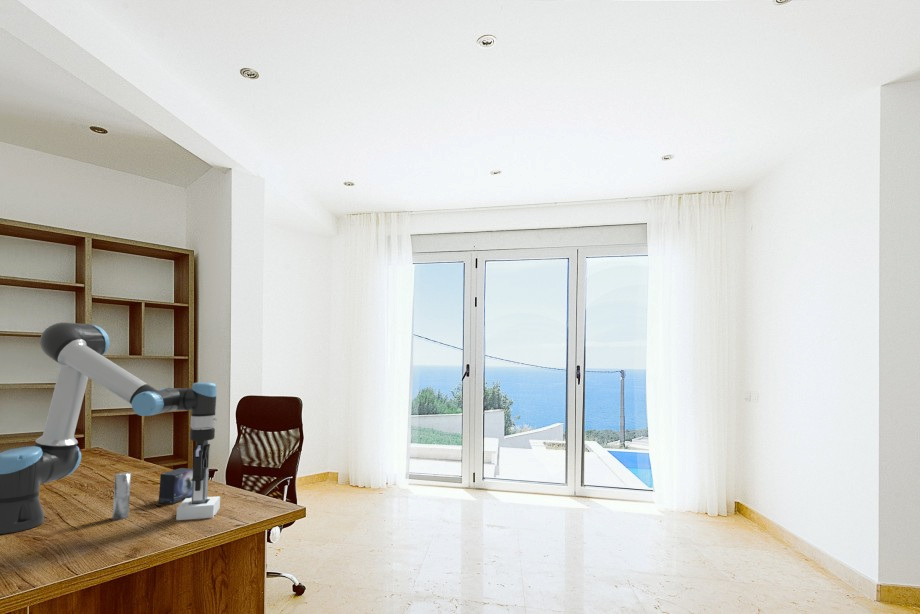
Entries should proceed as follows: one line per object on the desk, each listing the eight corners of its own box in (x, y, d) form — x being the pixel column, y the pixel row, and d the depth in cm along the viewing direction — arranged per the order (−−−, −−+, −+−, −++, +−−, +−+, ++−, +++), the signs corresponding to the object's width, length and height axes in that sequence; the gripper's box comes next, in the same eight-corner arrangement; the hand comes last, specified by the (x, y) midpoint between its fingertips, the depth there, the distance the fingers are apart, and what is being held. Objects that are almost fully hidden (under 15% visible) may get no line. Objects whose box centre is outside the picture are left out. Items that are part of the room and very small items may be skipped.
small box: (173, 504, 184) (174, 474, 185) (157, 503, 185) (159, 473, 186) (193, 496, 194) (195, 468, 195) (178, 495, 196) (180, 467, 197)
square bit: (191, 513, 171) (193, 469, 173) (194, 509, 175) (196, 467, 176) (204, 512, 172) (206, 469, 174) (206, 508, 176) (208, 466, 177)
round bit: (110, 520, 167) (112, 475, 168) (115, 516, 171) (118, 472, 172) (125, 519, 168) (128, 475, 169) (130, 515, 172) (133, 472, 173)
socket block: (176, 520, 167) (176, 507, 167) (185, 510, 178) (185, 498, 178) (213, 517, 170) (213, 505, 170) (219, 507, 180) (220, 496, 181)
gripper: (209, 431, 169) (205, 504, 167) (219, 424, 185) (216, 491, 183) (184, 432, 167) (180, 506, 165) (196, 424, 183) (193, 492, 181)
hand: (199, 498), depth 174 cm, fingers closed on square bit, 4 cm apart
